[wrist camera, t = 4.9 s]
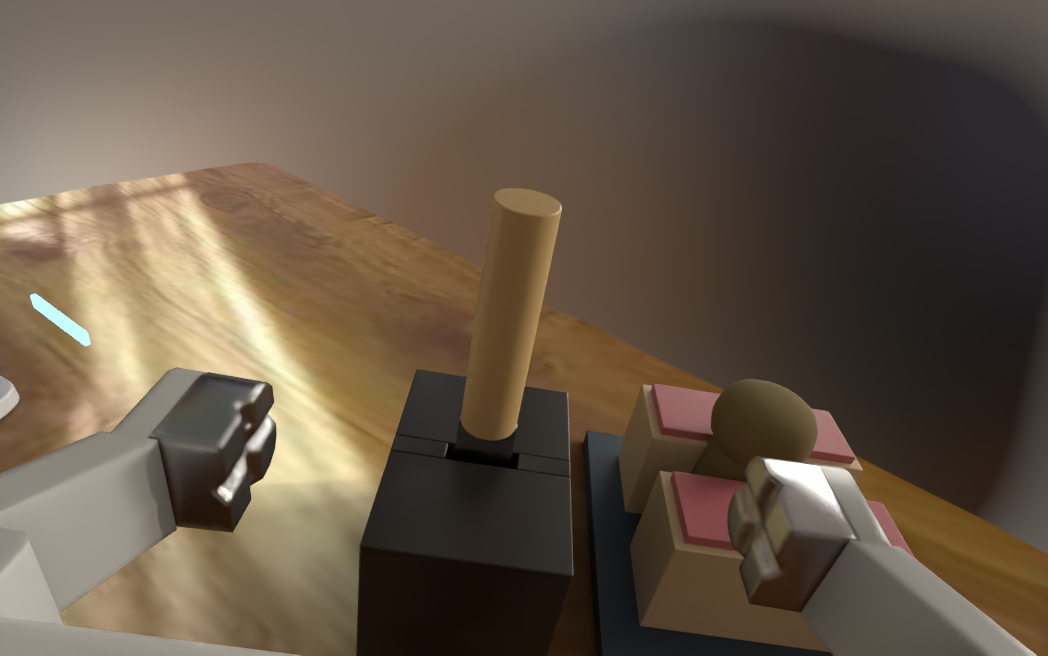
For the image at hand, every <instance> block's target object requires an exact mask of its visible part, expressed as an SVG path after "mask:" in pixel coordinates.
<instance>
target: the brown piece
mask: <svg viewBox="0 0 1048 656" xmlns="http://www.w3.org/2000/svg"><path fill="white" fill-rule="evenodd" d="M711 430H712V433H713V434H712V436H711V437H710V439H709V440H708V442H707V447H706V449H705V451H704V452H703V454H702V455H701V457H700V458H699V460H698V462H697V463H696V465H695V466H694V468H693V469H692V471H691V473H690V474H696V475H702V476H709V477H716V478H722V479H729V480H735V481H742V482H747V479H746V476H745V473H744V471H745V470H746V468H747V466H748V464H749V462H750V461H751V460H752V459H753V458H754V457H755V456H759V457H766V458H773V459H780V460H787V461H794V462H801V463H803V462H804V461H805V460H807V459H808V457H809V456H810V454H811V452H812V451H813V449H814V446H815V444H816V441H817V436H818V429H817V423H816V418H815V414H814V413H813V411H812V410H811V408H810V407H809V406H808V405H807V404H806V403H805V402H804V401H803V400H802V399H801V398H800V397H799V396H797V395H796V394H795V393H793V392H792V391H790V390H789V389H786V388H784V387H782V386H780V385H778V384H774V383H772V382H768V381H763V380H755V379H748V380H740V381H738V382H736V383H734V384H732V385H730V386H728V387H726V388H725V390H724V391H723V392H722V393H721V394H720V396H719V397H718V398H717V400H716V401H715V404H714V406H713V408H712V415H711Z"/></svg>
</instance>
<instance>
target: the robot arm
mask: <svg viewBox="0 0 1048 656" xmlns="http://www.w3.org/2000/svg"><path fill="white" fill-rule="evenodd" d="M30 297H31V300H32V303H33V306H34V308H35V309H37V310H38V311H39V312H41V313H42V314H43V315H45V316H46V317H47V318H49V319H50V320H51V321H53V322H54V323H55V324H57V325H58V326H59V327H61V328H62V329H63V330H64V331H66V332H67V333H68V334H70V335H71V336H72V337H74V338H75V339H76V340H78V341H79V342H80V343H82V344H83V345H84V346H87V345H90V340H89V336H88V333H87V331H85V330H84V329H83V328H81V327H80V326H79V325H77V324H76V323H74V322H73V321H72V320H70V319H69V318H68V317H66V316H65V315H64V314H62V313H61V312H60V311H58V310H57V309H56V308H54V307H53V306H51V305H50V304H49V303H47V302H46V301H45V300H43V299H42V298H41V297H39V296H38V295H37V294H32V295H30ZM19 399H20V397H19V395H18V393H17V391H16V389H15V387H14V386H13V384H12V383H11V382H10V381H8V380H7V379H5V378H3V377H2V376H0V419H1V418H3V417H4V416H5V415H6V414H7V413H9V412H10V411H11V410H12V409H13V408H14V407H15V406H16V404H17V403H18V402H19ZM273 403H274V397H273V389H272V386H271V385H270V384H269V383H267V382H261V381H256V380H250V379H244V378H238V377H233V376H227V375H221V374H215V373H210V372H207V373H205V372H201V371H195V370H189V369H183V368H174V369H171V370H169V371H167V372H166V373H165V374H164V375H163V376H162V377H161V379H160V380H159V381H158V382H157V383H156V384H155V385H154V386H153V387H152V388H151V389H150V390H149V392H148V393H147V394H146V395H145V396H144V397H143V398H142V399H141V400H140V401H139V402H138V403H137V405H136V406H135V407H134V408H133V409H132V410H131V411H130V412H129V413H128V414H127V415H126V416H125V418H124V419H123V420H122V421H121V422H120V423H119V424H118V425H117V426H116V427H115V428H114V429H113V431H112V432H111V433H108V432H101V431H100V432H98V433H96V434H93V435H91V436H88V437H86V438H84V439H81V440H79V441H76V442H74V443H72V444H69V445H67V446H65V447H62V448H60V449H57V450H55V451H53V452H50V453H48V454H46V455H43V456H41V457H38V458H36V459H34V460H31V461H29V462H27V463H24V464H22V465H19V466H17V467H15V468H12V469H10V470H7V471H5V472H3V473H0V656H302V655H295V654H287V653H279V652H272V651H264V650H256V649H248V648H241V647H233V646H225V645H217V644H210V643H202V642H194V641H186V640H179V639H171V638H163V637H155V636H148V635H140V634H132V633H125V632H117V631H109V630H101V629H94V628H86V627H78V626H70V625H65V624H64V622H63V619H62V617H61V615H60V612H61V611H63V610H64V609H65V608H67V607H68V606H70V605H71V604H72V603H74V602H75V601H77V600H78V599H79V598H81V597H82V596H84V595H85V594H87V593H88V592H89V591H91V590H92V589H94V588H95V587H96V586H98V585H99V584H101V583H102V582H103V581H105V580H106V579H108V578H109V577H110V576H112V575H113V574H115V573H116V572H117V571H119V570H120V569H122V568H123V567H125V566H126V565H127V564H129V563H130V562H132V561H133V560H134V559H136V558H137V557H139V556H140V555H141V554H143V553H144V552H146V551H147V550H148V549H150V548H151V547H153V546H154V545H156V544H157V543H158V542H160V541H161V540H163V539H164V538H165V537H167V536H168V535H170V534H171V533H172V532H174V531H175V530H176V529H177V527H176V526H178V527H187V528H196V529H205V530H214V531H223V532H232V533H233V531H234V529H235V528H236V526H237V524H238V522H239V520H240V519H241V517H242V515H243V513H244V512H245V510H246V508H247V506H248V504H249V503H250V501H251V493H250V486H251V485H252V484H254V483H256V482H258V481H259V480H261V479H263V477H264V475H265V473H266V471H267V469H268V467H269V466H270V463H271V460H272V456H273V453H274V450H275V443H276V423H275V422H274V420H273V419H272V418H271V417H270V416H269V415H268V414H267V413H268V412H269V410H270V408H271V407H272V405H273ZM744 473H745V476H746V479H747V482H748V483H747V484H745V485H744V486H742V487H740V488H739V489H737V490H735V492H734V494H733V496H732V499H731V501H730V503H729V508H728V516H727V526H728V534H729V537H730V541H731V545H732V546H733V547H734V548H735V549H736V550H737V551H738V552H739V553H740V554H741V555H742V556H743V557H744V559H743V561H742V563H741V564H740V566H739V571H740V575H741V578H742V581H743V585H744V588H745V591H746V594H747V598H748V601H749V604H753V605H759V606H765V607H771V608H777V609H783V610H789V611H795V612H801V613H800V616H801V617H802V619H803V620H804V621H805V622H806V623H807V625H808V626H809V627H810V628H811V629H812V631H813V632H814V633H815V634H816V636H817V637H818V638H819V639H820V640H821V642H822V643H823V644H824V645H825V646H826V648H827V649H828V650H829V651H830V653H831V654H832V655H833V656H1037V655H1035V654H1034V653H1033V652H1032V651H1030V650H1029V649H1028V648H1027V647H1025V646H1024V645H1023V644H1022V643H1020V642H1019V641H1018V640H1017V639H1015V638H1014V637H1013V636H1012V635H1010V634H1009V633H1008V632H1007V631H1005V630H1004V629H1003V628H1002V627H1000V626H999V625H998V624H997V623H995V622H994V621H993V620H992V619H990V618H989V617H988V616H987V615H985V614H984V613H983V612H982V611H980V610H979V609H978V608H977V607H975V606H974V605H973V604H971V603H970V602H969V601H968V600H966V599H965V598H964V597H963V596H961V595H960V594H959V593H958V592H956V591H955V590H954V589H953V588H951V587H950V586H949V585H948V584H946V583H945V582H944V581H943V580H941V579H940V578H939V577H938V576H936V575H935V574H934V573H933V572H931V571H930V570H929V569H928V568H926V567H925V566H924V565H923V564H921V563H920V562H919V561H918V560H916V559H915V558H914V557H913V556H911V555H910V554H909V553H907V552H906V551H905V550H904V549H902V548H901V547H897V546H891V544H890V542H889V540H888V539H887V537H886V535H885V533H884V532H883V530H882V528H881V526H880V525H879V523H878V521H877V519H876V518H875V516H874V514H873V512H872V511H871V509H870V507H869V505H868V504H867V502H866V500H865V498H864V497H863V495H862V493H861V491H860V490H859V488H858V486H857V484H856V483H855V481H854V479H853V477H852V476H851V474H850V473H849V472H848V471H847V470H846V469H844V468H843V467H835V466H827V465H820V464H808V463H801V462H794V461H787V460H780V459H773V458H766V457H759V456H755V457H754V458H753V459H752V460H751V461H750V462H749V464H748V466H747V468H746V470H745V471H744Z"/></svg>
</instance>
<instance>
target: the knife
mask: <svg viewBox="0 0 1048 656" xmlns="http://www.w3.org/2000/svg"><path fill="white" fill-rule="evenodd" d="M561 211H562V207H561V204H560V203H559V202H558V201H557V200H556V199H554V198H553V197H551V196H548V195H546V194H544V193H541V192H537V191H533V190H528V189H520V188H510V189H509V188H508V189H502V190H499V191H497V192H495V193H494V195H493V197H492V204H491V211H490V219H489V225H488V232H487V240H486V246H485V253H484V260H483V267H482V274H481V280H480V287H479V294H478V301H477V308H476V315H475V322H474V329H473V336H472V343H471V350H470V357H469V364H468V371H467V378H466V384H465V391H464V398H463V405H462V412H461V415H460V418H459V424H458V431H457V438H456V445H455V452H454V459H453V460H455V461H462V462H469V463H475V464H482V465H489V466H495V467H502V468H509V465H510V460H511V455H512V450H513V446H514V441H515V436H516V432H517V420H518V416H519V411H520V406H521V401H522V397H523V392H524V387H525V382H526V378H527V373H528V368H529V363H530V359H531V354H532V349H533V344H534V340H535V335H536V330H537V325H538V321H539V316H540V311H541V306H542V302H543V297H544V292H545V287H546V283H547V278H548V273H549V268H550V263H551V259H552V254H553V249H554V244H555V240H556V235H557V230H558V225H559V220H560V216H561Z"/></svg>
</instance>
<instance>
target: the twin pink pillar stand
mask: <svg viewBox="0 0 1048 656" xmlns="http://www.w3.org/2000/svg"><path fill="white" fill-rule="evenodd" d="M719 396H720V394H716V393H709V392H703V391H697V390H691V389H685V388H678V387H672V386H666V385H660V384H653V386H648V385H642V386H641V389H640V392H639V395H638V398H637V401H636V404H635V407H634V410H633V413H632V416H631V419H630V422H629V425H628V427H627V430H626V433H625V436H620V435H613V434H607V433H600V432H594V431H587V432H586V435H585V439H584V450H585V467H586V484H587V500H588V517H589V534H590V550H591V567H592V583H593V600H594V617H595V633H596V650H597V656H833V655H832V654H831V653H830V651H829V650H828V649H827V648H826V646H825V645H824V644H823V643H822V642H821V640H820V639H819V638H818V637H817V636H816V634H815V633H814V632H813V631H812V629H811V628H810V627H809V626H808V625H807V623H806V622H805V621H804V620H803V619H802V617H801V616H800V613H801V612H795V611H789V610H783V609H777V608H771V607H765V606H759V605H753V604H749V601H748V598H747V594H746V591H745V588H744V585H743V581H742V578H741V575H740V571H739V566H740V564H741V563H742V561H743V559H744V557H743V556H742V555H741V554H740V553H739V552H738V551H737V550H736V549H735V548H734V547H733V546H732V545H731V541H730V537H729V534H728V526H727V516H728V508H729V503H730V501H731V499H732V496H733V494H734V492H735V490H737V489H739V488H740V487H742V486H744V485H745V484H747V483H748V482H742V481H735V480H729V479H722V478H716V477H709V476H702V475H696V474H690V473H691V471H692V469H693V468H694V466H695V465H696V463H697V462H698V460H699V458H700V457H701V455H702V454H703V452H704V451H705V449H706V447H707V442H708V440H709V439H710V437H711V436H712V434H713V433H712V430H711V415H712V408H713V406H714V404H715V401H716V400H717V398H718V397H719ZM811 410H812V411H813V413H814V414H815V418H816V423H817V429H818V436H817V441H816V444H815V446H814V449H813V451H812V452H811V454H810V456H809V457H808V459H807V460H805V461H804V462H803V463H808V464H820V465H827V466H835V467H843V468H844V469H846V470H847V471H848V472H849V473H850V474H851V476H852V477H853V479H854V481H855V483H856V482H857V480H858V478H859V477H860V475H861V474H862V472H863V469H862V467H861V466H860V464H859V462H858V461H857V459H856V457H855V455H854V454H853V452H852V450H851V449H850V447H849V446H848V444H847V442H846V440H845V438H844V437H843V435H842V433H841V432H840V430H839V428H838V427H837V425H836V423H835V422H834V420H833V418H832V416H831V415H830V413H829V412H828V411H821V410H815V409H811ZM866 502H867V504H868V505H869V507H870V509H871V511H872V512H873V514H874V516H875V518H876V519H877V521H878V523H879V525H880V526H881V528H882V530H883V532H884V533H885V535H886V537H887V539H888V540H889V542H890V544H891V546H897V547H901V548H902V549H904V550H905V551H906V552H907V553H909V554H910V555H911V556H913V554H912V552H911V551H910V549H909V547H908V546H907V544H906V542H905V541H904V539H903V537H902V535H901V534H900V532H899V530H898V529H897V527H896V525H895V524H894V522H893V520H892V518H891V517H890V515H889V513H888V512H887V510H886V508H885V507H884V505H883V503H879V502H873V501H866ZM913 557H914V556H913ZM914 558H915V557H914Z"/></svg>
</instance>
